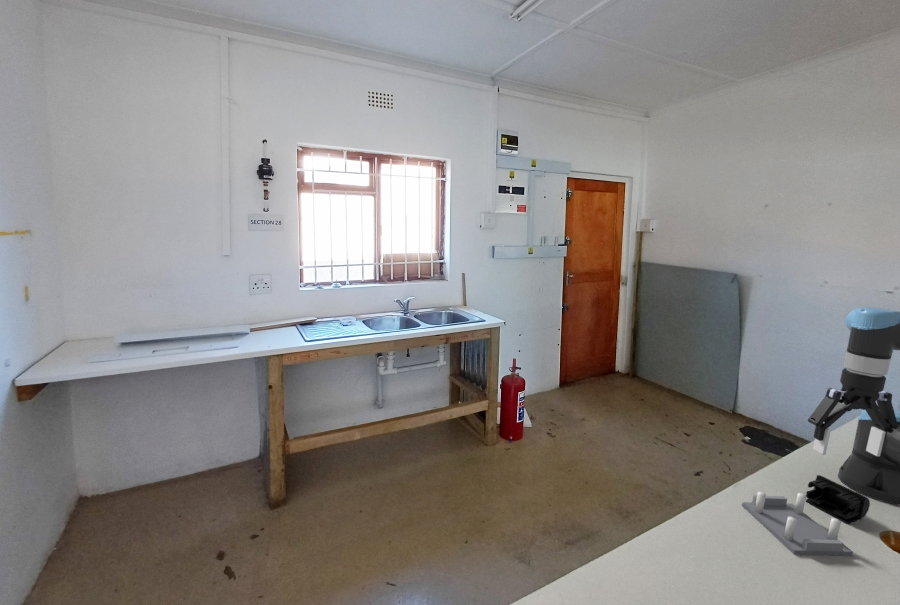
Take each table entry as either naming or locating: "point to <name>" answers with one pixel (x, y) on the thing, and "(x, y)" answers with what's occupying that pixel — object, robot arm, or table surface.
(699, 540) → the table surface
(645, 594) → the table surface
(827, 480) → the end cap
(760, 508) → the tray
